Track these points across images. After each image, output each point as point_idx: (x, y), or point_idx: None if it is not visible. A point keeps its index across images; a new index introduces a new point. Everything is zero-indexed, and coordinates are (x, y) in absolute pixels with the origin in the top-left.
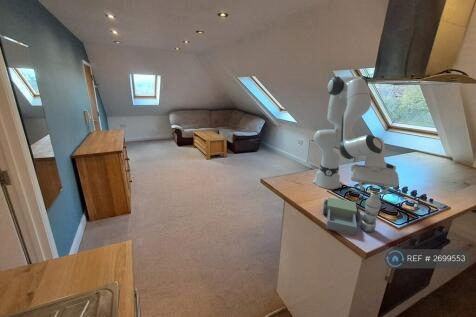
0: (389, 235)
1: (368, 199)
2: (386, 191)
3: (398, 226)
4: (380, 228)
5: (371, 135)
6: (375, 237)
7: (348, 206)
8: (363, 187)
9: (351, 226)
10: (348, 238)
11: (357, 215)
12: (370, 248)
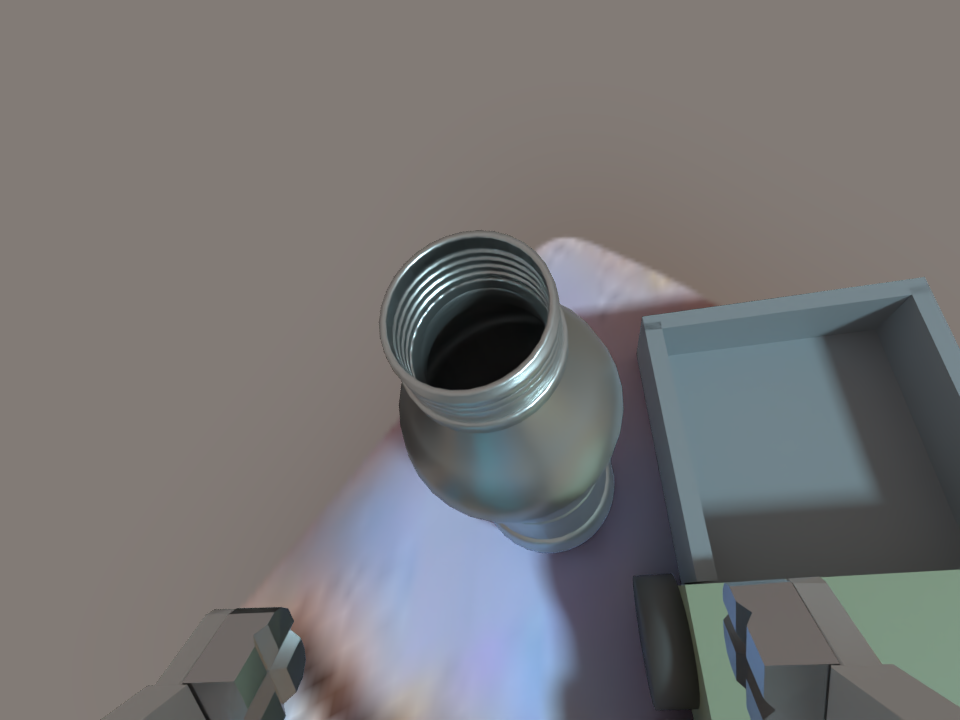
0: (387, 493)
1: (589, 347)
2: (193, 643)
3: None
4: (438, 573)
5: None
6: None
7: None
8: (784, 630)
9: (688, 311)
10: (677, 294)
11: (662, 585)
12: None
